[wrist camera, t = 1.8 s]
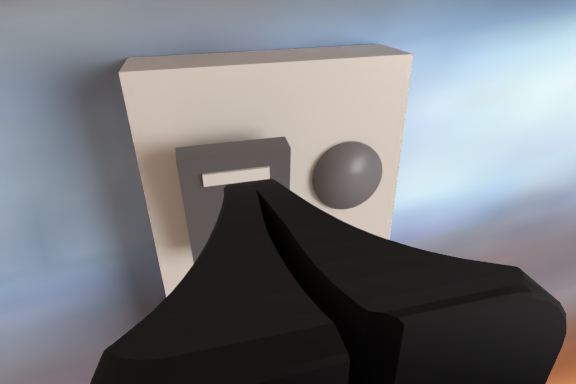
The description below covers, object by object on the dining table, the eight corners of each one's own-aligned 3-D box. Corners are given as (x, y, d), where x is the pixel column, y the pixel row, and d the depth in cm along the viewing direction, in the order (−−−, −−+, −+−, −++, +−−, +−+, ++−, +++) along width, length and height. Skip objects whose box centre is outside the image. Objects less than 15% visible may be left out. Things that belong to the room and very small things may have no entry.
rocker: (280, 227, 18) (288, 251, 17) (192, 241, 17) (193, 266, 16) (281, 129, 15) (291, 149, 14) (175, 140, 14) (176, 161, 13)
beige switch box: (354, 326, 27) (375, 365, 24) (188, 361, 24) (189, 409, 22) (379, 43, 18) (415, 54, 15) (127, 57, 16) (117, 73, 13)
